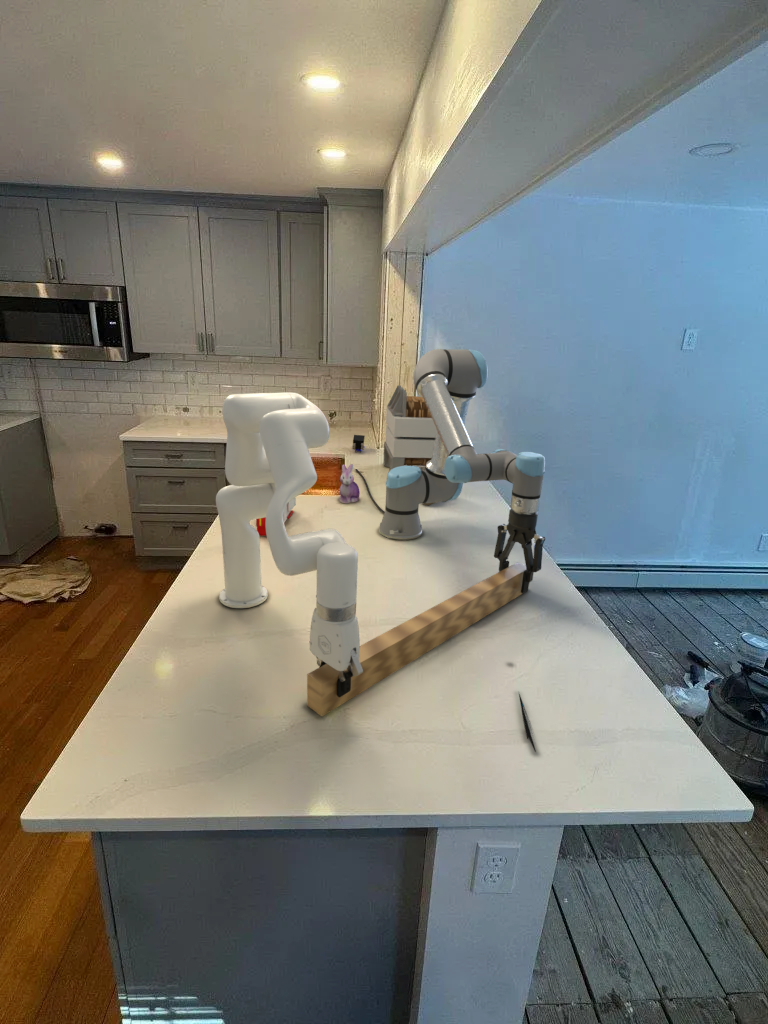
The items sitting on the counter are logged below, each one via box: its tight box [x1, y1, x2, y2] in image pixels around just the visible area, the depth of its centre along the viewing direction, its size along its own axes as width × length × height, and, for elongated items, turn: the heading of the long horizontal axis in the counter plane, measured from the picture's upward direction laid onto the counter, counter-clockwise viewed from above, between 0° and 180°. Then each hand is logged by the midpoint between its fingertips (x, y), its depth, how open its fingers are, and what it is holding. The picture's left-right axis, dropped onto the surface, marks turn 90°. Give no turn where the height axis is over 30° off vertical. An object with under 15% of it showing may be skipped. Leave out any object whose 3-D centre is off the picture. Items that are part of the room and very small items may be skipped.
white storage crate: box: [383, 384, 437, 471], centre depth 268 cm, size 34×33×41 cm
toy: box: [255, 497, 297, 537], centre depth 204 cm, size 12×13×30 cm
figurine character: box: [351, 434, 365, 454], centre depth 311 cm, size 7×8×15 cm
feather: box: [517, 691, 537, 753], centre depth 115 cm, size 2×28×2 cm
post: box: [306, 561, 526, 717], centre depth 136 cm, size 78×4×8 cm, turn 137°
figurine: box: [338, 463, 361, 504], centre depth 229 cm, size 9×10×15 cm
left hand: (334, 686), depth 113 cm, fingers open, 4 cm apart
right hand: (513, 586), depth 160 cm, fingers open, 6 cm apart
